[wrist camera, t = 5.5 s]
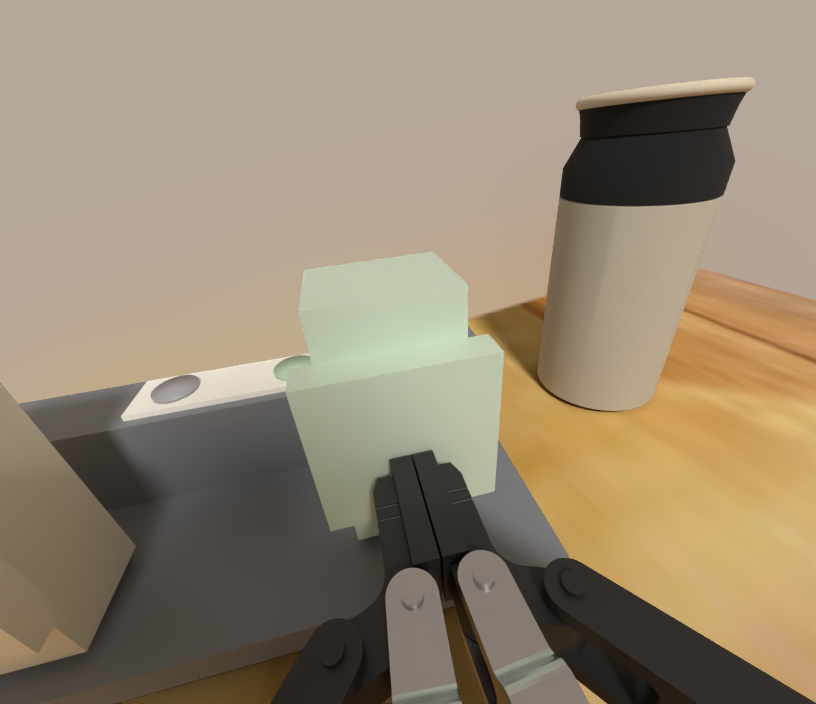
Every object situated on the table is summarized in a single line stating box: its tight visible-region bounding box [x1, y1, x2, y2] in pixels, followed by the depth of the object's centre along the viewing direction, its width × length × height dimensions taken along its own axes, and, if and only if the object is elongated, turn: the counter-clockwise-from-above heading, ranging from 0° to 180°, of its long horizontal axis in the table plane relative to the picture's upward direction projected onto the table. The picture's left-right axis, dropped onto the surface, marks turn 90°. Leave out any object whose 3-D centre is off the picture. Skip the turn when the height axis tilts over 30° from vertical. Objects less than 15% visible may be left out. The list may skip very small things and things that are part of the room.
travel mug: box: [537, 77, 755, 411], centre depth 22 cm, size 8×8×18 cm
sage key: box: [286, 252, 504, 540], centre depth 14 cm, size 6×5×11 cm
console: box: [0, 327, 568, 704], centre depth 17 cm, size 27×12×7 cm, turn 102°
